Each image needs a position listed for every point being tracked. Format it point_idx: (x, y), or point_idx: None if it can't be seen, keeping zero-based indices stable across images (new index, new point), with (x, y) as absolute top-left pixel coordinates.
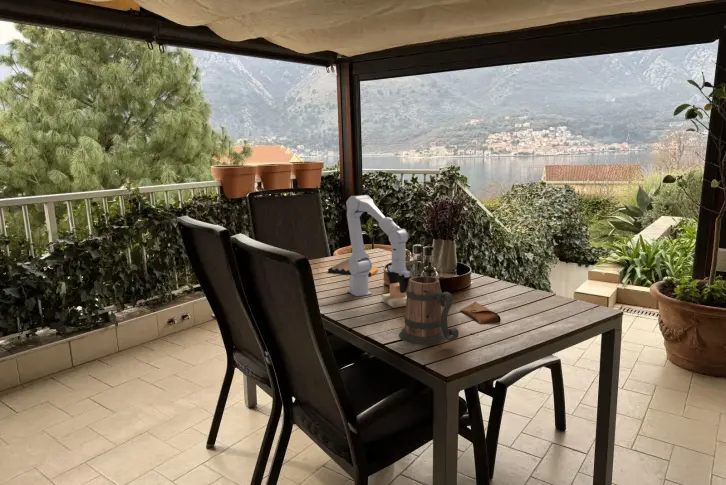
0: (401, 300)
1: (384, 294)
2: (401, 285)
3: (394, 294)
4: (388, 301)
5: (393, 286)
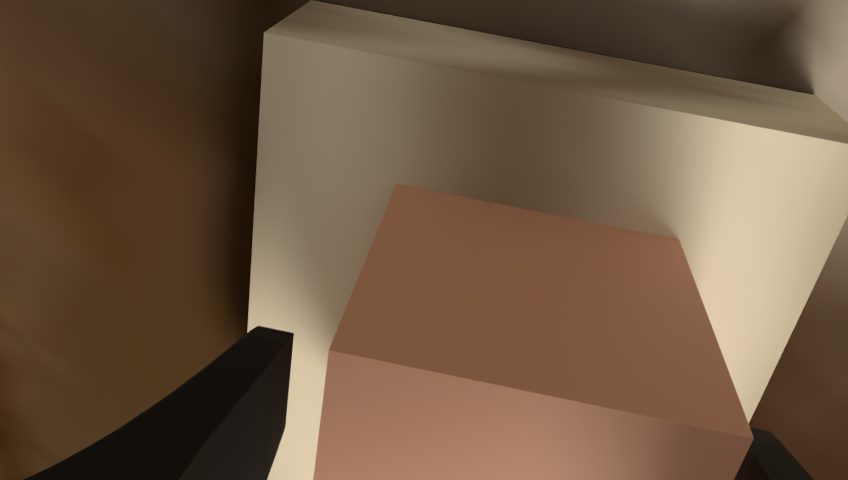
0: (260, 212)
1: (824, 189)
2: (107, 448)
3: (436, 228)
4: (538, 60)
5: (477, 360)
